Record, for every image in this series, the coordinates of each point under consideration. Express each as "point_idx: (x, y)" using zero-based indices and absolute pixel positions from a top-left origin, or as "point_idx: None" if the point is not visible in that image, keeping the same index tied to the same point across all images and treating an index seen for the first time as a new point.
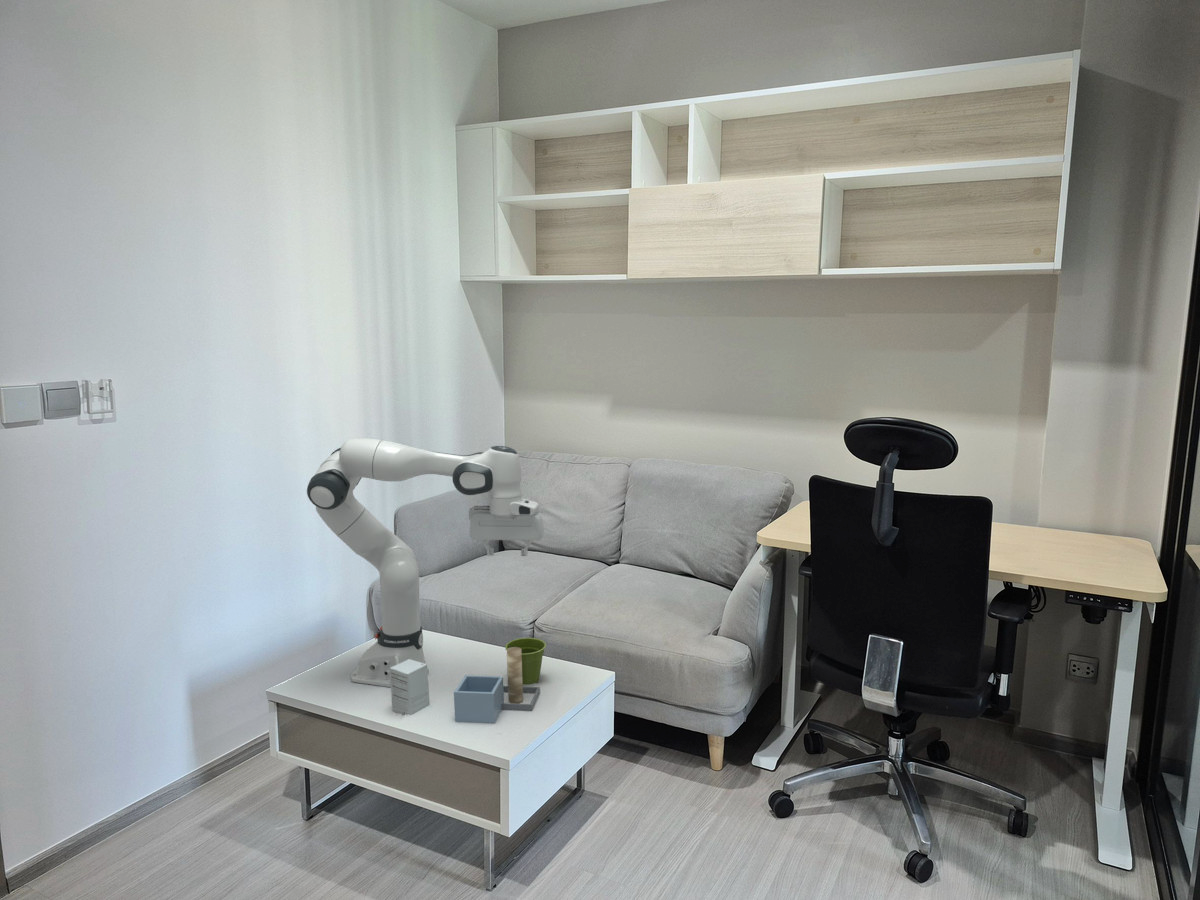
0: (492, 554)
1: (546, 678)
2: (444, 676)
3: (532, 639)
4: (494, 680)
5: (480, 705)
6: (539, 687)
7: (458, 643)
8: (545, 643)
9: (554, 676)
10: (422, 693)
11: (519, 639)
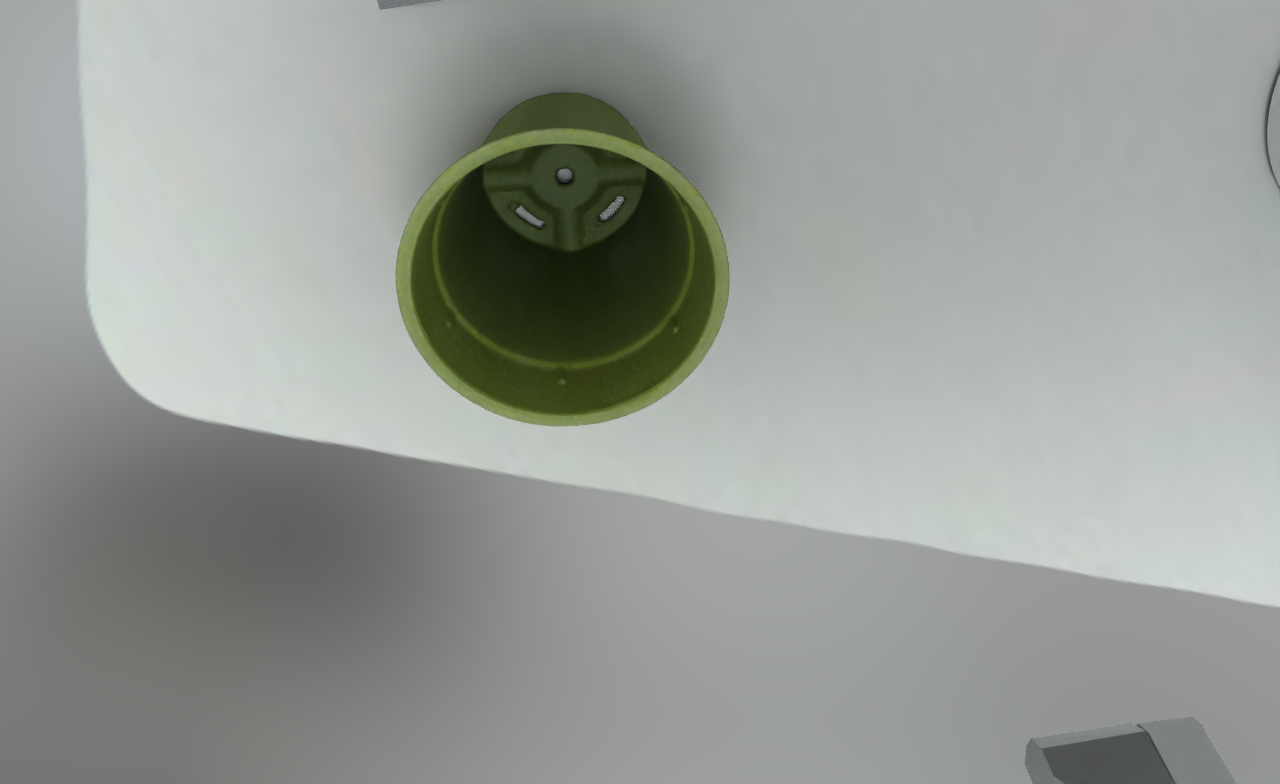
0: (1040, 758)
1: None
2: (1141, 117)
3: (563, 410)
4: None
5: None
6: (379, 1)
7: (1153, 543)
8: (428, 362)
9: None
10: None
11: (659, 384)
